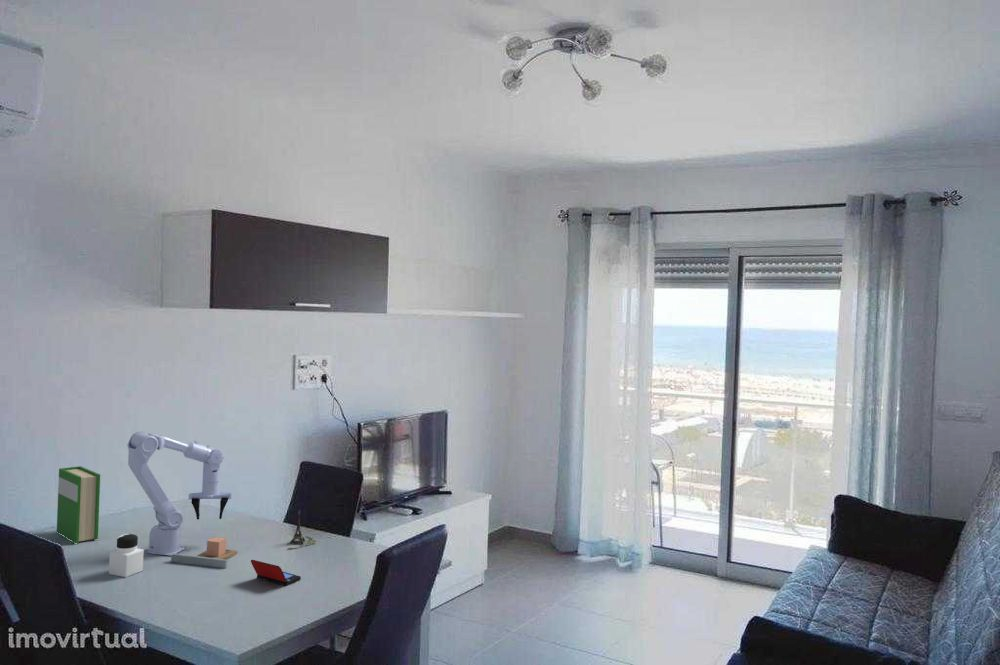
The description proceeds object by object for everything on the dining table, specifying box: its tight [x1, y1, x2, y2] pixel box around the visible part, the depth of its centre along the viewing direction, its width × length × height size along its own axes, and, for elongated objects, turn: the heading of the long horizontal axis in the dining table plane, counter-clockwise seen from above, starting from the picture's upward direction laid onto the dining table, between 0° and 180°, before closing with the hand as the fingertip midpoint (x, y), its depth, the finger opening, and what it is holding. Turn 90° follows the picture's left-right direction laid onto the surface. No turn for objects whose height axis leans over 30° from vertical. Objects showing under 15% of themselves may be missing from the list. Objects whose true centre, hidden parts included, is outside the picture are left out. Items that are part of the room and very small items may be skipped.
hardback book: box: [56, 465, 101, 543], centre depth 273 cm, size 18×7×24 cm, turn 50°
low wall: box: [170, 553, 229, 569], centre depth 251 cm, size 20×1×2 cm, turn 80°
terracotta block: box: [206, 536, 227, 557], centre depth 259 cm, size 4×4×5 cm
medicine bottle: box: [108, 533, 144, 578], centre depth 240 cm, size 7×7×12 cm
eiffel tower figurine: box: [286, 510, 318, 551], centre depth 279 cm, size 15×10×13 cm
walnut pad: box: [196, 548, 238, 560], centre depth 259 cm, size 10×10×1 cm
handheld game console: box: [250, 559, 302, 587], centre depth 240 cm, size 12×11×7 cm
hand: (209, 518), depth 272 cm, fingers open, 7 cm apart
